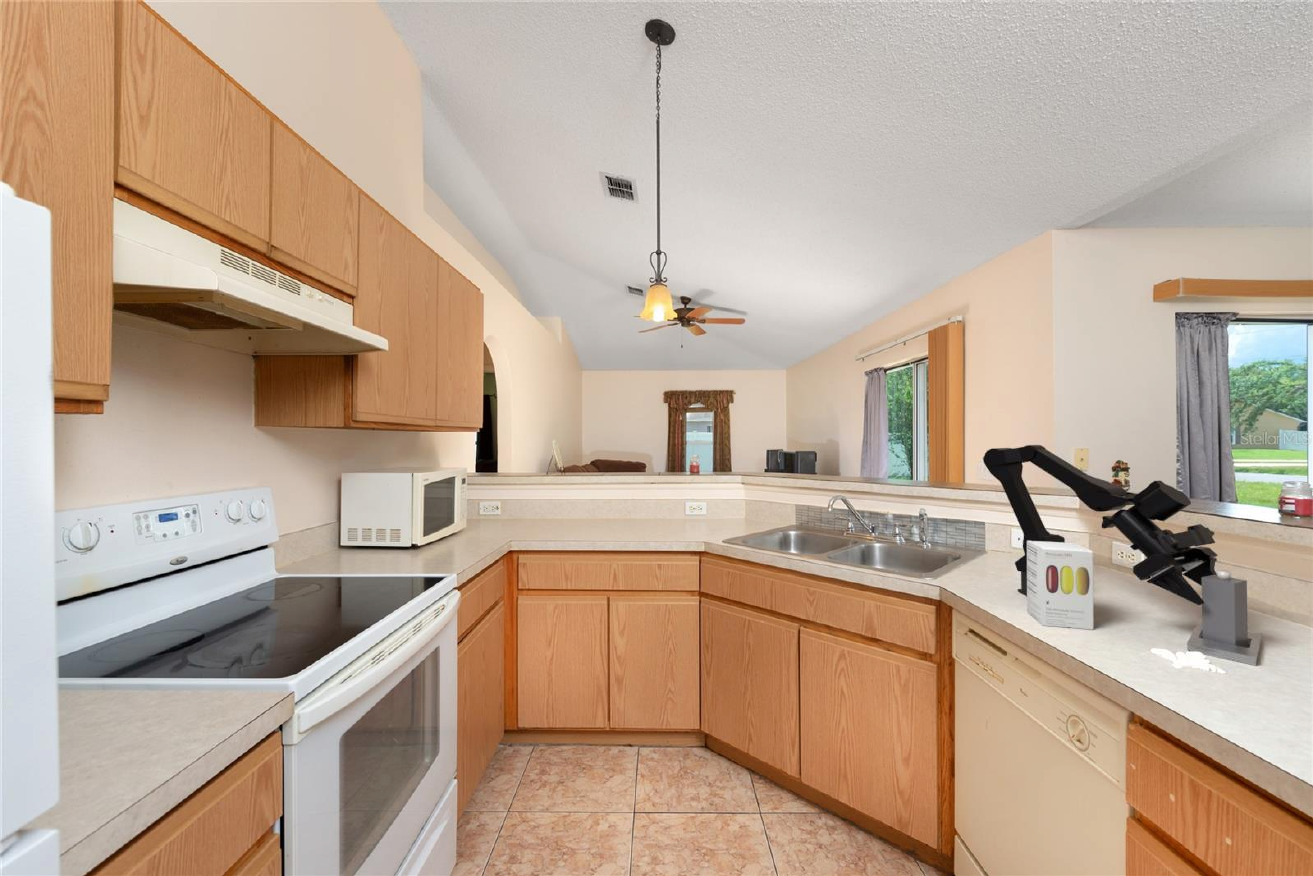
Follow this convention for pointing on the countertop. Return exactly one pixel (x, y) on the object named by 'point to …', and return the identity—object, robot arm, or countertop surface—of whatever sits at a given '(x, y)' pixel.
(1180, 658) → the acanthus leaf ornament
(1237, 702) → the countertop surface
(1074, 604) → the supplement box
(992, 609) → the countertop surface
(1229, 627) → the plug
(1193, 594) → the robot arm
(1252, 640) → the socket plate
